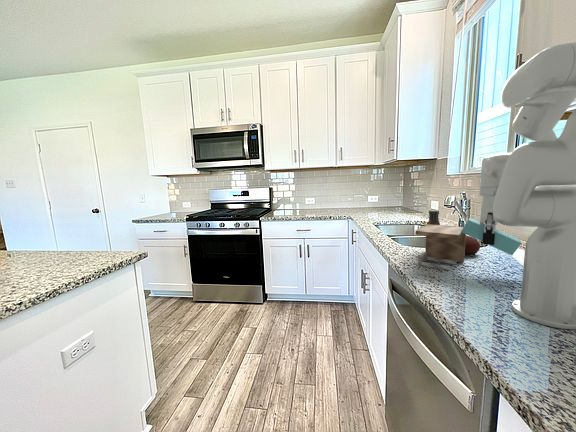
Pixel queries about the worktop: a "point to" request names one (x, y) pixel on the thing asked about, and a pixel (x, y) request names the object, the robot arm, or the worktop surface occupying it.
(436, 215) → the sauce bottle
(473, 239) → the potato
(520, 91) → the robot arm
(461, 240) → the overhang shelf
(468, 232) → the teal rectangular block
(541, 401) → the worktop surface
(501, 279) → the worktop surface
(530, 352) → the worktop surface
